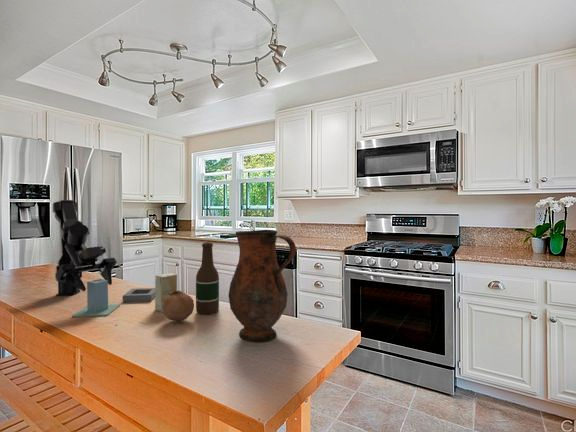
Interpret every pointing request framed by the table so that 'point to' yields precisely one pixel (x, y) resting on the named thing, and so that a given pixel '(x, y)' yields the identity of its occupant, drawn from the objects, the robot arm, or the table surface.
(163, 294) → the skincare box
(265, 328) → the pitcher
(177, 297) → the onion
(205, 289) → the beer bottle
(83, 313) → the green mat
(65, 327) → the table surface
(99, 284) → the tall square blue prism
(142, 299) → the square socket block
